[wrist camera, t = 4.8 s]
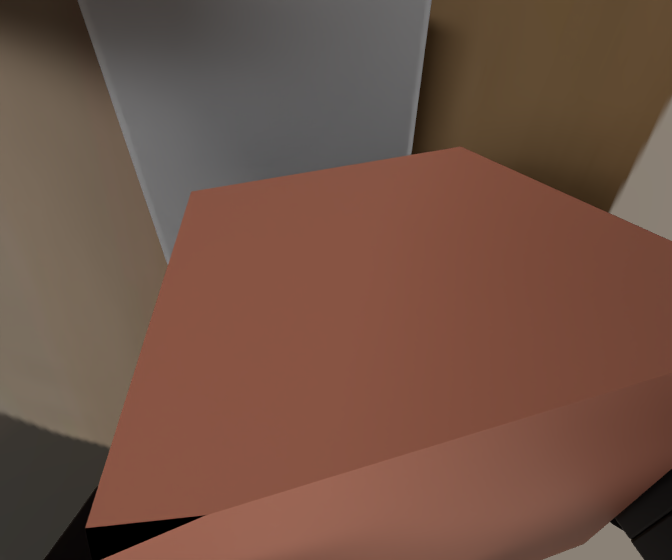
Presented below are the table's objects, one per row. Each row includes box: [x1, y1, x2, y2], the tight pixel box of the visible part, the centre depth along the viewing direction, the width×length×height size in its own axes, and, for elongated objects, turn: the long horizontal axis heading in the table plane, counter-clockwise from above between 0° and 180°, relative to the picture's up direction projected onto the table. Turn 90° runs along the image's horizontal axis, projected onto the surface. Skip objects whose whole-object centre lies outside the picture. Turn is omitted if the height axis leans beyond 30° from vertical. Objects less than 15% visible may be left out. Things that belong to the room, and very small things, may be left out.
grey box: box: [78, 0, 431, 264], centre depth 16 cm, size 14×11×4 cm
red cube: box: [85, 147, 672, 560], centre depth 6 cm, size 6×6×6 cm
